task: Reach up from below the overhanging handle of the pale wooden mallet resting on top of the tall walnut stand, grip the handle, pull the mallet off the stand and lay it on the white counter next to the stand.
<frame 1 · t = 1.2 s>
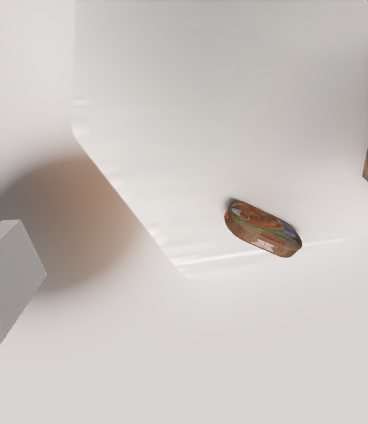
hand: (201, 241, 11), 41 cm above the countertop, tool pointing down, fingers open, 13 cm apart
tin: (259, 216, 58), on the countertop
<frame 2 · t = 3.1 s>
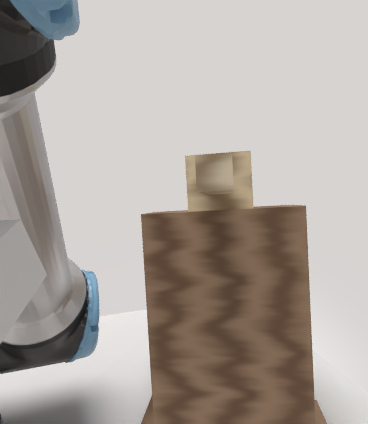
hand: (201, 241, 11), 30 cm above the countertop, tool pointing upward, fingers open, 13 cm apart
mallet: (220, 210, 37), point 30 cm above the countertop, touching stand
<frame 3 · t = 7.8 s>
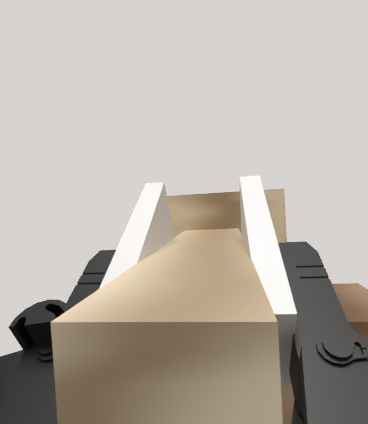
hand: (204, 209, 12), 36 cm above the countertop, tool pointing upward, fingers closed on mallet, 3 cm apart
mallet: (216, 318, 17), point 30 cm above the countertop, touching gripper, stand
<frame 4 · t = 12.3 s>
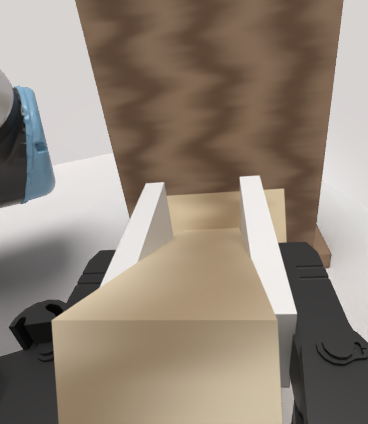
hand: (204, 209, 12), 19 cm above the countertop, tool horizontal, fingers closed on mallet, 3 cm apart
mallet: (216, 317, 17), point 11 cm above the countertop, tilted 29°, touching gripper
stand: (223, 251, 39), on the countertop
when the fingers open (12 cm above the countertop, at t = 13.9 s): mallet drops 5 cm, on the countertop.
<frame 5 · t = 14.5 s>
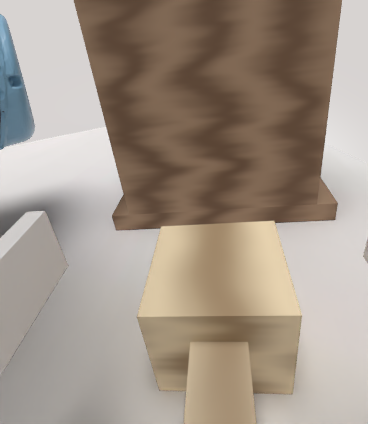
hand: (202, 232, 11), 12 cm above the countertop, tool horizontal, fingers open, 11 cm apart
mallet: (224, 392, 18), on the countertop
stand: (219, 208, 36), on the countertop
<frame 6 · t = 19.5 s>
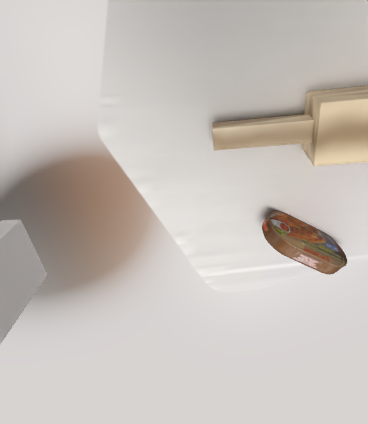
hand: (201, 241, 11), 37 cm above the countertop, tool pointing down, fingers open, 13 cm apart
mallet: (303, 120, 44), on the countertop
tin: (297, 227, 53), on the countertop
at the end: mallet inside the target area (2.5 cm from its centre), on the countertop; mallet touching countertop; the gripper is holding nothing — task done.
